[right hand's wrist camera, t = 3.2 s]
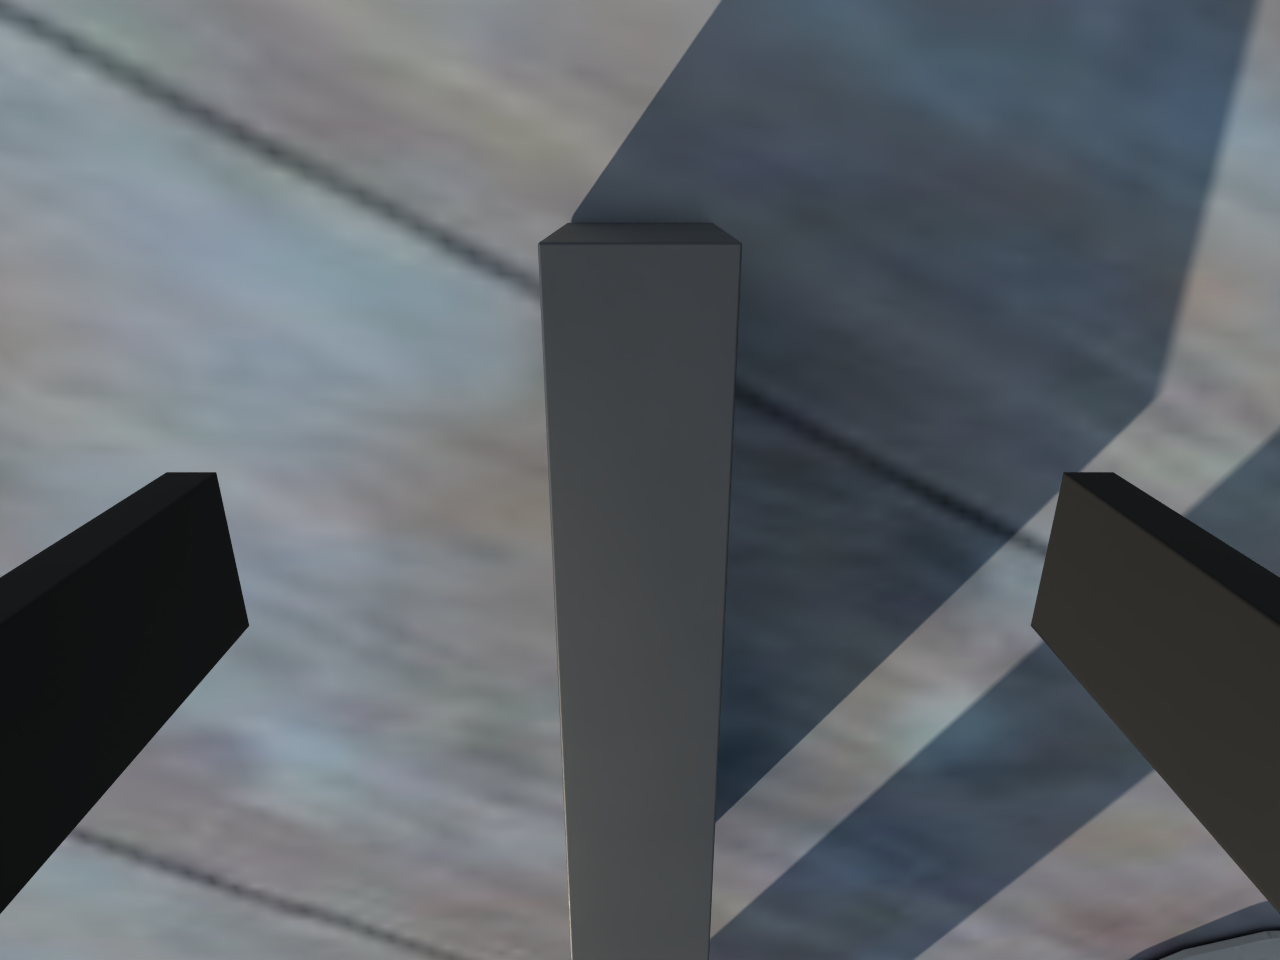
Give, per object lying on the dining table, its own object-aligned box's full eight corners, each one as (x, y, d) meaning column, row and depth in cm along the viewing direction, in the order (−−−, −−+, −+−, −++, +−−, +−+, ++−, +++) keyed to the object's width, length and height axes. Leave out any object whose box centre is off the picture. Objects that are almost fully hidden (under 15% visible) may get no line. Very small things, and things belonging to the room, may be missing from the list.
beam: (566, 222, 26) (537, 242, 19) (713, 222, 26) (742, 242, 19) (587, 846, 37) (573, 1017, 29) (692, 846, 37) (706, 1017, 29)
